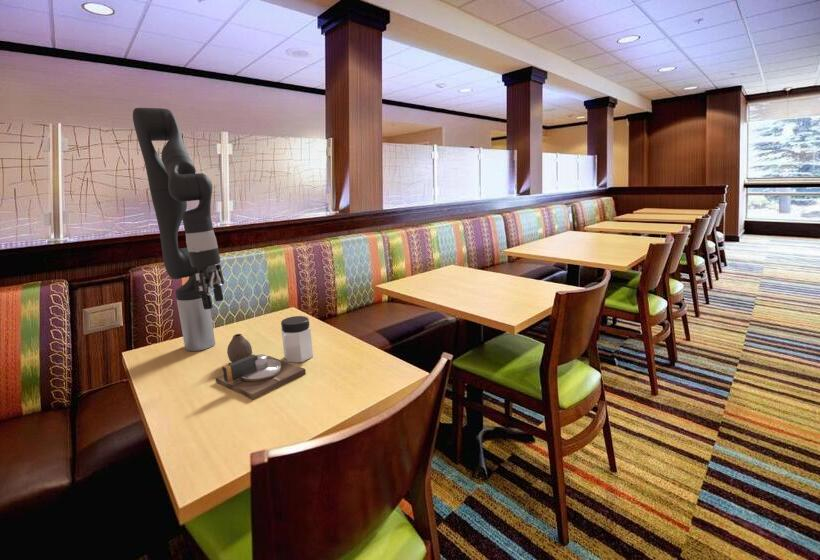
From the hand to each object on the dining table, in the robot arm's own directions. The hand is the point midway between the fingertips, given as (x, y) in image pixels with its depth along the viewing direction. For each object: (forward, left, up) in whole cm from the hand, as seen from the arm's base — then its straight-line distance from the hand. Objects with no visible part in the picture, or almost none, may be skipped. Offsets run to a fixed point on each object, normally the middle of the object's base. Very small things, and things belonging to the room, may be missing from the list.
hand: (214, 304), depth 121 cm
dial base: (+15, +2, -20) cm, 25 cm away
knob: (+15, 0, -18) cm, 24 cm away
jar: (+13, +17, -20) cm, 29 cm away
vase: (+1, +5, -20) cm, 20 cm away
